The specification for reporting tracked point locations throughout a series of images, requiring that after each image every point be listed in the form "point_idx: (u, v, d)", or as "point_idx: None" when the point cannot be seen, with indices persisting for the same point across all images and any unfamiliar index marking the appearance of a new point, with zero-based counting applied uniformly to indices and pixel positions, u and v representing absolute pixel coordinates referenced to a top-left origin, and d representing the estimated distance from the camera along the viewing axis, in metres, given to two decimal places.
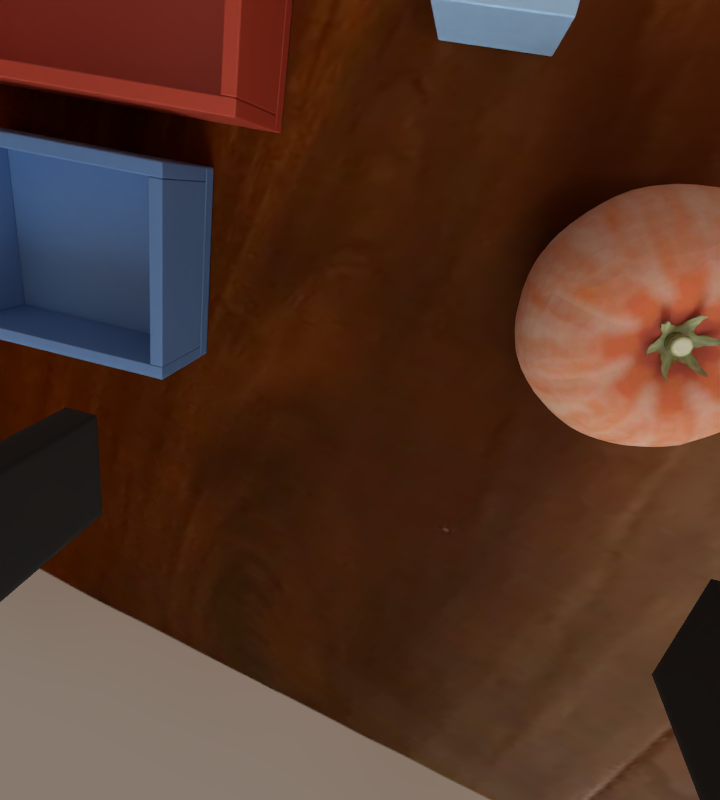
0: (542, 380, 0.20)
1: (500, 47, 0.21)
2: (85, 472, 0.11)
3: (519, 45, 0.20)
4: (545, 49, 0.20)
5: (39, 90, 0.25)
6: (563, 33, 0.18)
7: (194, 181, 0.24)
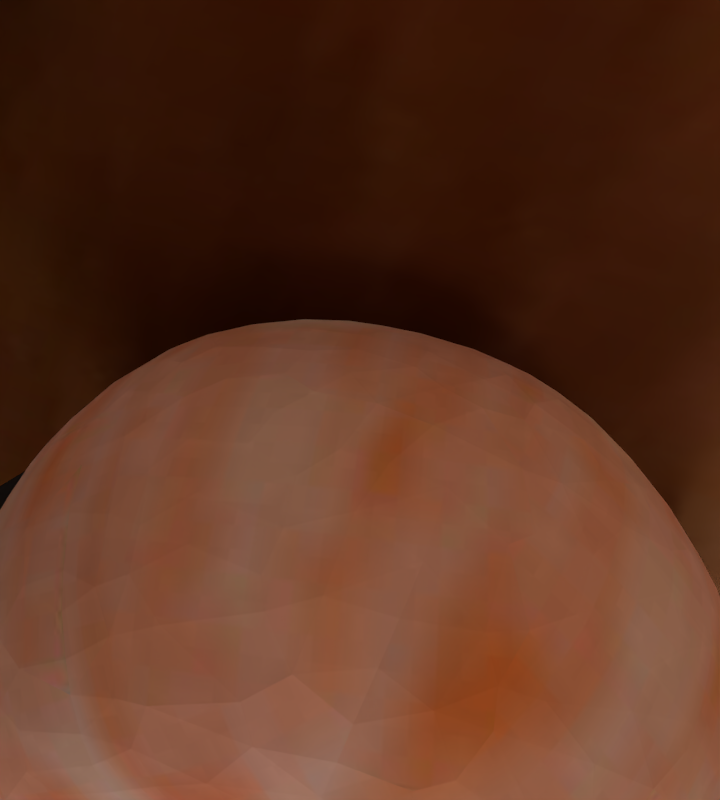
0: None
1: None
2: None
3: None
4: None
5: None
6: None
7: None
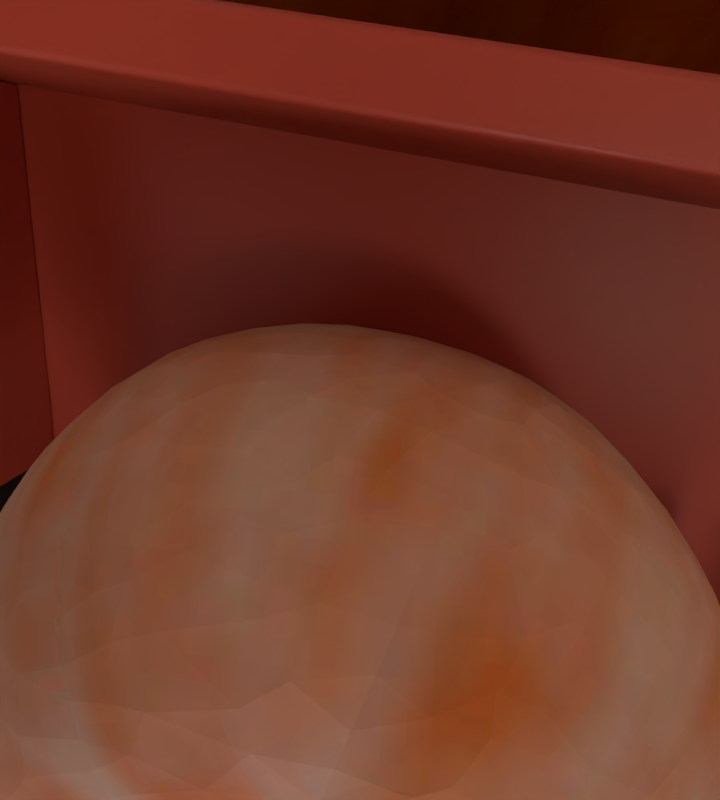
0: None
1: None
2: None
3: None
4: None
5: None
6: None
7: None
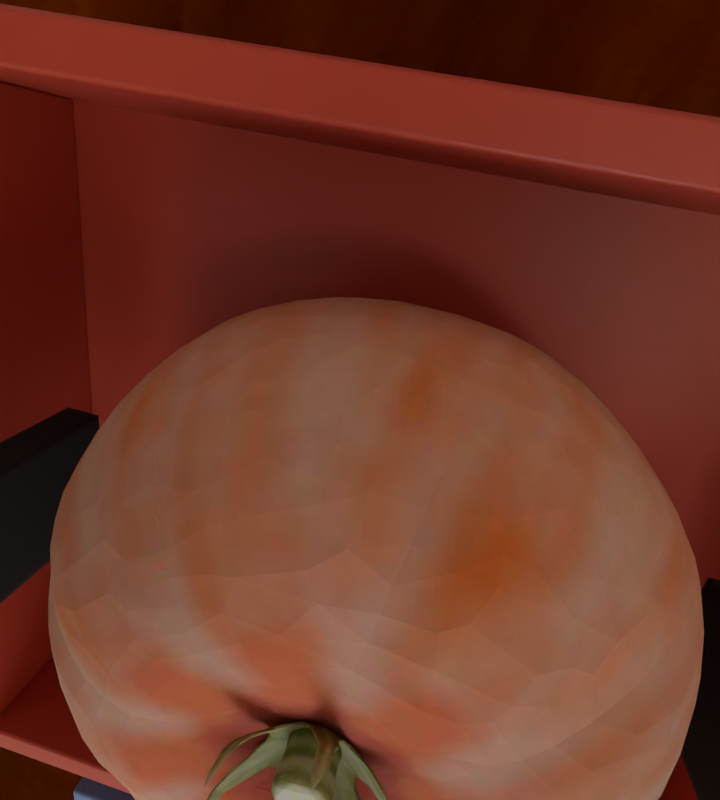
0: None
1: None
2: None
3: None
4: None
5: None
6: None
7: None
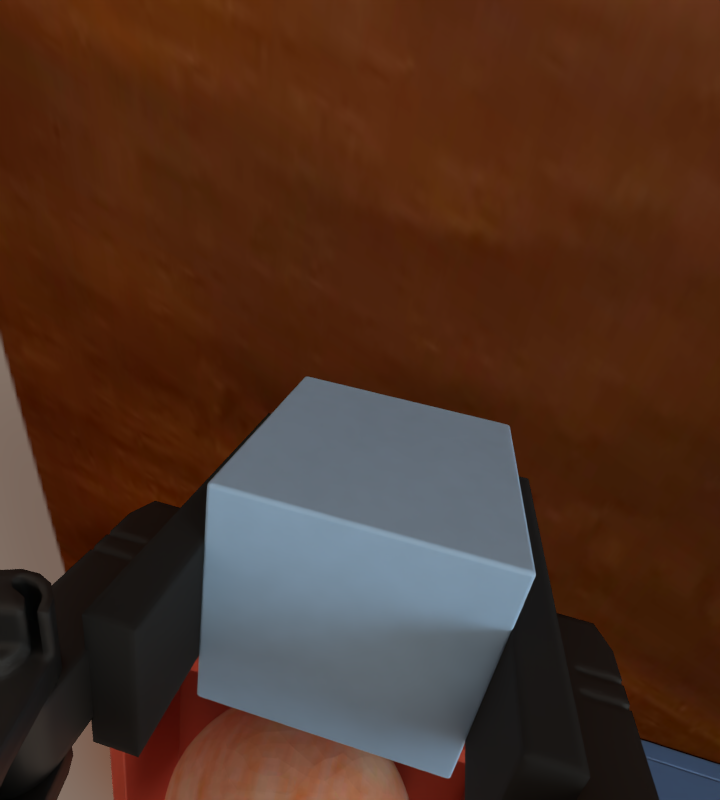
0: None
1: None
2: None
3: None
4: None
5: None
6: (523, 506, 0.08)
7: None
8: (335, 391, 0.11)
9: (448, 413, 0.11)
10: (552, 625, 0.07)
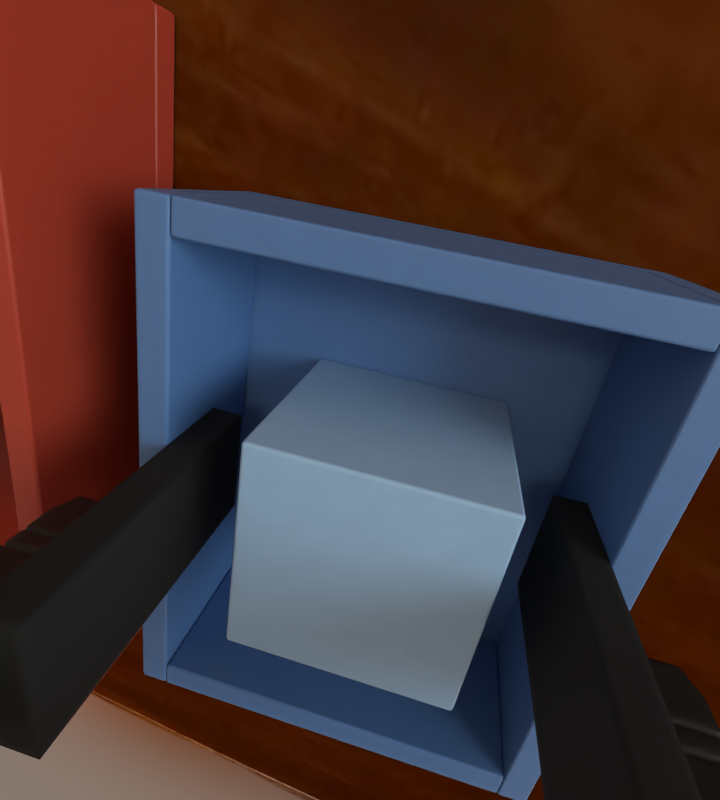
0: None
1: None
2: (230, 466, 0.12)
3: None
4: None
5: None
6: (516, 467, 0.10)
7: (242, 196, 0.11)
8: (348, 372, 0.12)
9: (450, 392, 0.12)
10: (646, 675, 0.07)
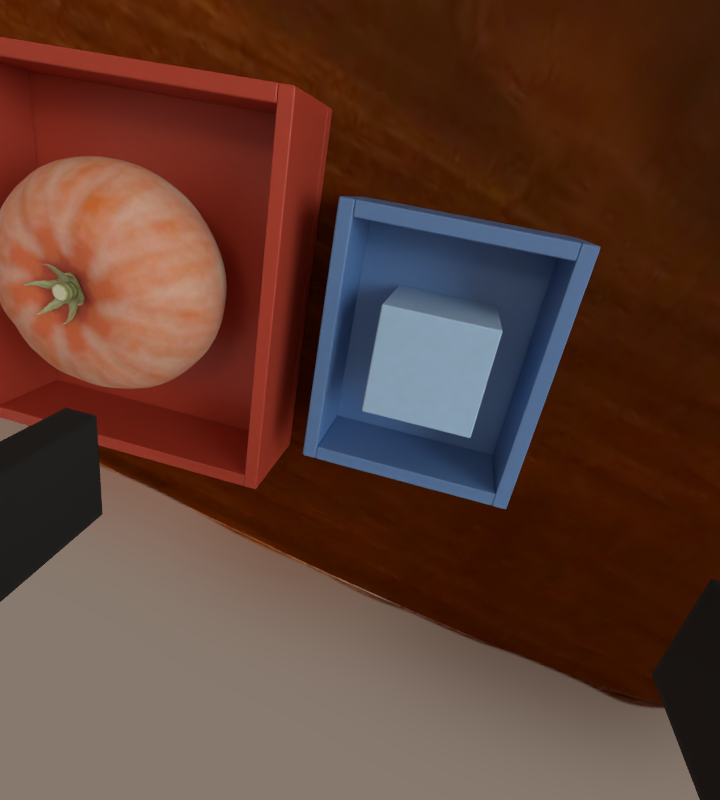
0: (145, 379, 0.23)
1: None
2: (85, 472, 0.11)
3: None
4: None
5: (297, 369, 0.28)
6: (500, 322, 0.21)
7: (369, 199, 0.22)
8: (415, 290, 0.24)
9: (468, 300, 0.24)
10: None
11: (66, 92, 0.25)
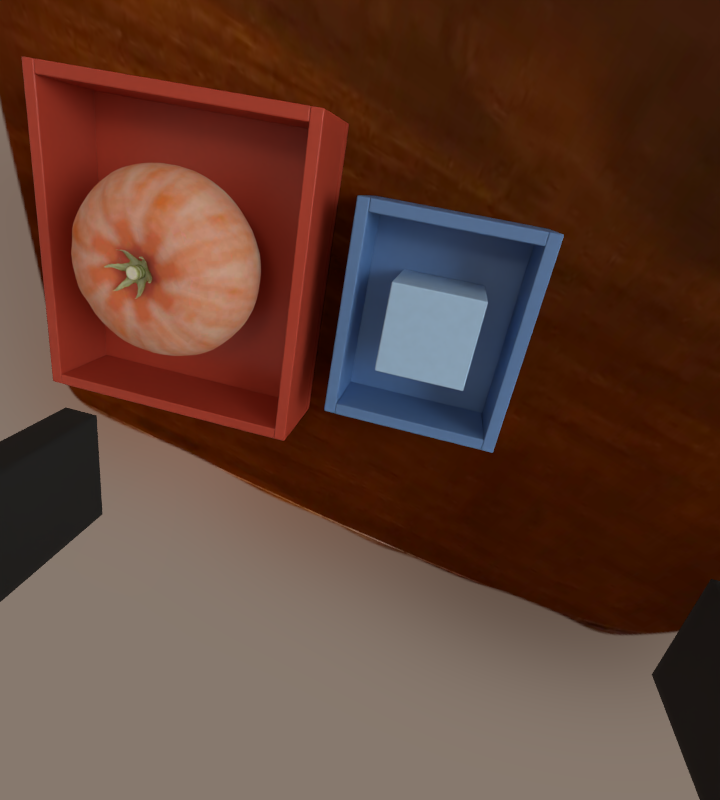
0: (196, 346, 0.28)
1: None
2: (85, 472, 0.11)
3: None
4: None
5: (316, 342, 0.33)
6: (486, 297, 0.26)
7: (380, 197, 0.27)
8: (417, 273, 0.29)
9: (461, 281, 0.29)
10: None
11: (125, 108, 0.29)
